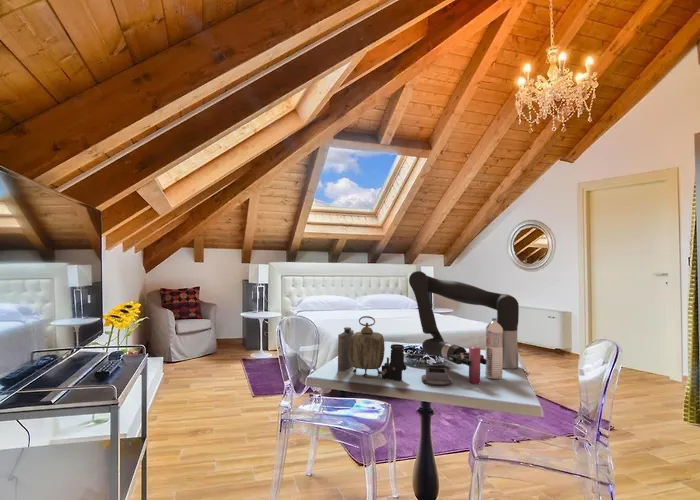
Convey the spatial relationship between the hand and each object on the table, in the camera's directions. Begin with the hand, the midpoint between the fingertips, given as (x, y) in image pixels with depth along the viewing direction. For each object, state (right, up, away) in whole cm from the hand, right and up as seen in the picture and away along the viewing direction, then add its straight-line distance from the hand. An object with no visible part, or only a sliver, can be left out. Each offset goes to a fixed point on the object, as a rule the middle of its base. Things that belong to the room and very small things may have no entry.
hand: (478, 362), depth 166 cm
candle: (-1, -9, +2) cm, 9 cm away
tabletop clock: (-44, -8, +9) cm, 46 cm away
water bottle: (+10, -9, +9) cm, 16 cm away
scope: (-33, -8, +5) cm, 34 cm away
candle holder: (-16, -8, +2) cm, 18 cm away
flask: (-53, -8, +22) cm, 58 cm away
